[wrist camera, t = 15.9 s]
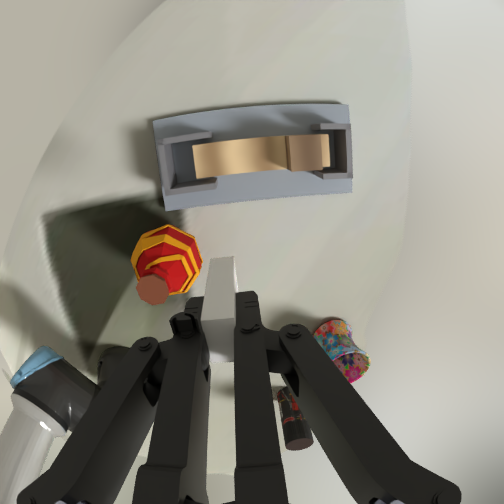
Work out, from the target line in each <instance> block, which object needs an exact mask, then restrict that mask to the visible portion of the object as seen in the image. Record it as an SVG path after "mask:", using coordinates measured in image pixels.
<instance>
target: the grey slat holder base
mask: <svg viewBox="0 0 504 504" xmlns="http://www.w3.org/2000/svg"><path fill="white" fill-rule="evenodd" d="M153 128H154V136H155V144H156V152H157V159H158V166H159V173H160V179H161V186H162V192H163V198H164V204H165V209H166V211H170V210H178V209H185V208H192V207H200V206H208V205H216V204H225V203H234V202H243V201H252V200H263V199H273V198H284V197H296V196H309V195H323V194H338V193H352V178H353V164H352V139H351V124H350V118H349V105H345V104H282V105H263V106H249V107H238V108H229V109H220V110H212V111H205V112H198V113H191V114H185V115H179V116H174V117H169V118H163V119H158V120H154V121H153ZM307 134H328V137H329V154H330V167H323V170H312V171H297V172H291V171H290V170H288V169H281V170H269V171H258V172H248V173H239V174H230V175H221V176H214V177H206V178H199V179H197V178H196V170H195V163H194V155H193V147H192V146H193V145H198V144H205V143H212V142H220V141H228V140H237V139H247V138H258V137H270V136H286V135H307Z"/></svg>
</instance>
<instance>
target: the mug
mask: <svg viewBox="0 0 504 504" xmlns="http://www.w3.org/2000/svg"><path fill="white" fill-rule="evenodd" d="M313 337H314V338H315V339H316V341H317V342H318V343H319V344H320V346H321V347H322V348H323V349H324V351H325V352H326V353H327V355H328V356H329V357H330V358H331V360H332V361H333V362H334V364H335V365H336V366H337V367H338V369H339V370H340V371H341V372H342V374H343V375H344V376H345V378H346V379H347V380H348V381H349V383H352V382H354V381H356V380H358V379H359V378H360V377H362V376H363V375H364V373H365V372H366V371H367V370H368V368H369V366H370V357H369V355H368V354H367V353H366V352H364V351H362V350H361V349H359V348H358V347H357V346H356V345H355V343H354V342H353V339H352V328H351V326H350V325H349V324H348V323H347V322H345V321H342V320H332V321H329V322H326V323H325V324H323V325H321V326H320V327H319V328H318V329H317V330H316V332H315V333H314V335H313Z"/></svg>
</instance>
